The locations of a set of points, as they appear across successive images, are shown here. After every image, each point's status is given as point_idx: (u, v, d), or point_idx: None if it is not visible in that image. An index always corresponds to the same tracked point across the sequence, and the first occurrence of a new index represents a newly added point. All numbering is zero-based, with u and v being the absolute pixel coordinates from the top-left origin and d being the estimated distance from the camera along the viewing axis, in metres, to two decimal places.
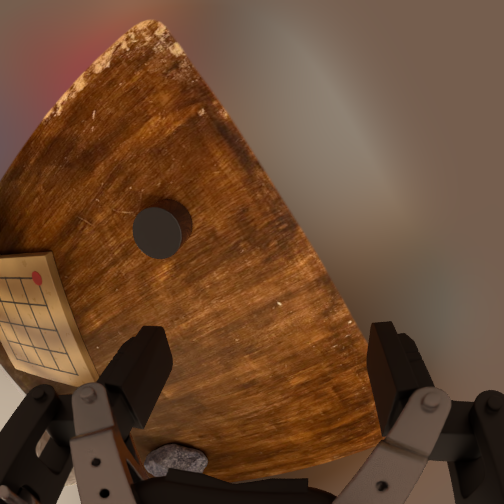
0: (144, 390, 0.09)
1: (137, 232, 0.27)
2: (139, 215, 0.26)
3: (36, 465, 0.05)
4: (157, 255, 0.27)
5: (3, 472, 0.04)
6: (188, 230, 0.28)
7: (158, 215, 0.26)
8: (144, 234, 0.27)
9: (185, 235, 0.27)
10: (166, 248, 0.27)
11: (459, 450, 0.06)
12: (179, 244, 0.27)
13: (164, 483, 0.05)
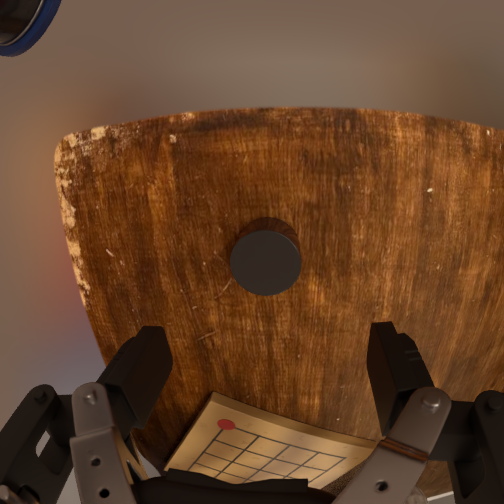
0: (144, 390, 0.09)
1: (250, 284, 0.22)
2: (233, 269, 0.21)
3: (36, 465, 0.05)
4: (290, 280, 0.21)
5: (3, 472, 0.04)
6: (288, 229, 0.22)
7: (246, 247, 0.21)
8: (257, 278, 0.21)
9: (290, 234, 0.21)
10: (288, 265, 0.21)
11: (459, 450, 0.06)
12: (294, 246, 0.20)
13: (164, 483, 0.05)
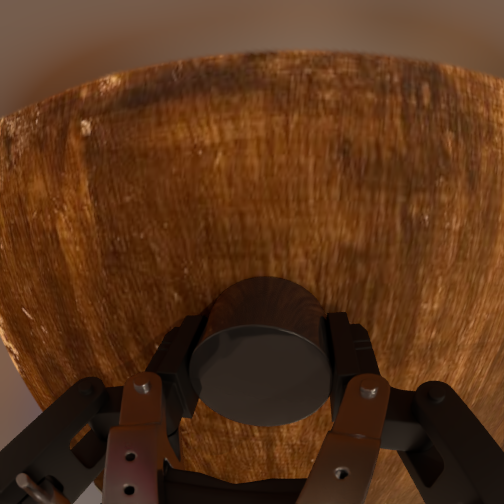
0: None
1: (231, 411, 0.10)
2: (196, 386, 0.10)
3: (67, 458, 0.06)
4: (309, 408, 0.10)
5: (28, 461, 0.05)
6: (307, 306, 0.10)
7: (219, 355, 0.09)
8: (244, 404, 0.10)
9: (313, 323, 0.10)
10: (308, 386, 0.09)
11: (403, 439, 0.07)
12: (322, 355, 0.09)
13: (164, 483, 0.05)
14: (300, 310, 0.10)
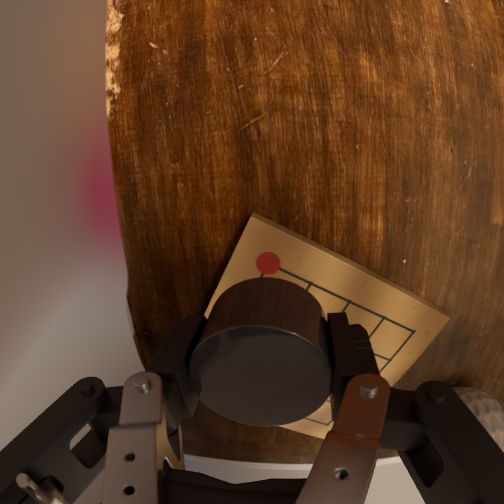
0: None
1: (231, 411, 0.10)
2: (196, 387, 0.10)
3: (67, 458, 0.06)
4: (308, 408, 0.10)
5: (28, 461, 0.05)
6: (307, 306, 0.10)
7: (219, 356, 0.09)
8: (244, 404, 0.10)
9: (313, 323, 0.10)
10: (308, 386, 0.09)
11: (403, 439, 0.07)
12: (322, 355, 0.09)
13: (164, 483, 0.05)
14: (300, 310, 0.10)
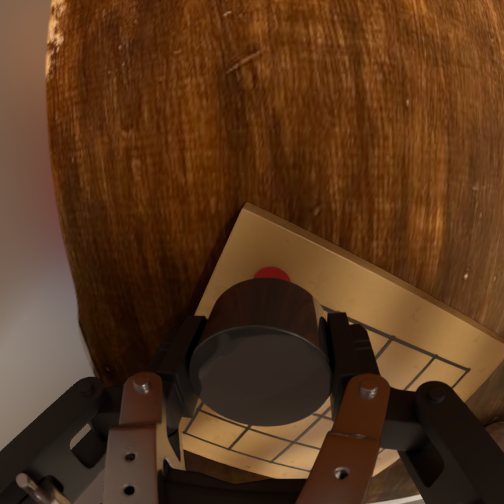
0: None
1: (231, 411, 0.10)
2: (196, 387, 0.10)
3: (67, 458, 0.06)
4: (308, 408, 0.10)
5: (28, 461, 0.05)
6: (307, 306, 0.10)
7: (219, 356, 0.09)
8: (244, 404, 0.10)
9: (313, 323, 0.10)
10: (308, 386, 0.09)
11: (403, 439, 0.07)
12: (322, 355, 0.09)
13: (164, 483, 0.05)
14: (300, 311, 0.10)
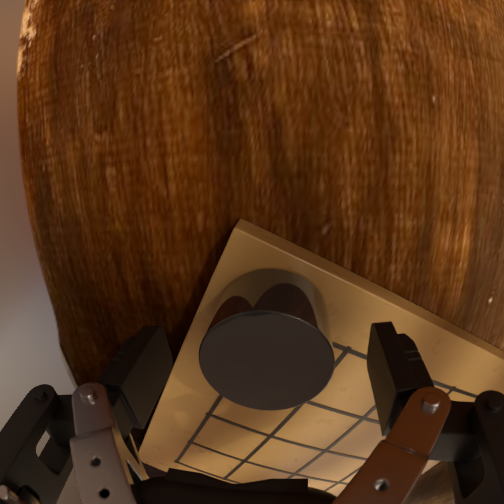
0: (144, 390, 0.09)
1: (238, 395, 0.11)
2: (205, 371, 0.11)
3: (36, 465, 0.05)
4: (311, 392, 0.10)
5: (3, 472, 0.04)
6: (309, 295, 0.11)
7: (228, 340, 0.10)
8: (250, 388, 0.11)
9: (315, 310, 0.10)
10: (311, 369, 0.10)
11: (459, 450, 0.06)
12: (324, 339, 0.10)
13: (164, 483, 0.05)
14: (303, 298, 0.11)
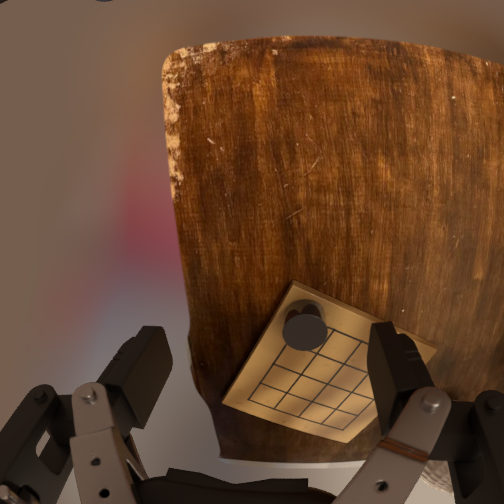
0: (144, 390, 0.09)
1: (294, 345, 0.32)
2: (284, 336, 0.32)
3: (36, 465, 0.05)
4: (320, 342, 0.32)
5: (3, 472, 0.04)
6: (319, 308, 0.33)
7: (293, 324, 0.31)
8: (299, 341, 0.32)
9: (321, 313, 0.32)
10: (320, 333, 0.31)
11: (459, 450, 0.06)
12: (324, 323, 0.31)
13: (164, 483, 0.05)
14: (317, 310, 0.32)
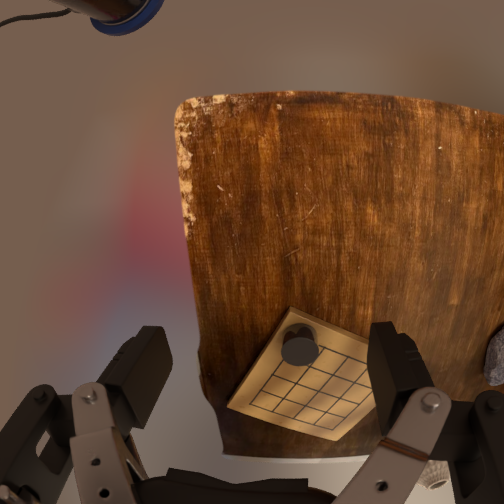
0: (144, 390, 0.09)
1: (291, 361, 0.38)
2: (282, 354, 0.38)
3: (36, 465, 0.05)
4: (312, 359, 0.37)
5: (3, 472, 0.04)
6: (312, 331, 0.38)
7: (290, 345, 0.37)
8: (295, 358, 0.38)
9: (313, 336, 0.37)
10: (312, 352, 0.37)
11: (459, 450, 0.06)
12: (315, 344, 0.37)
13: (164, 483, 0.05)
14: (310, 333, 0.38)
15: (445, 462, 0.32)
